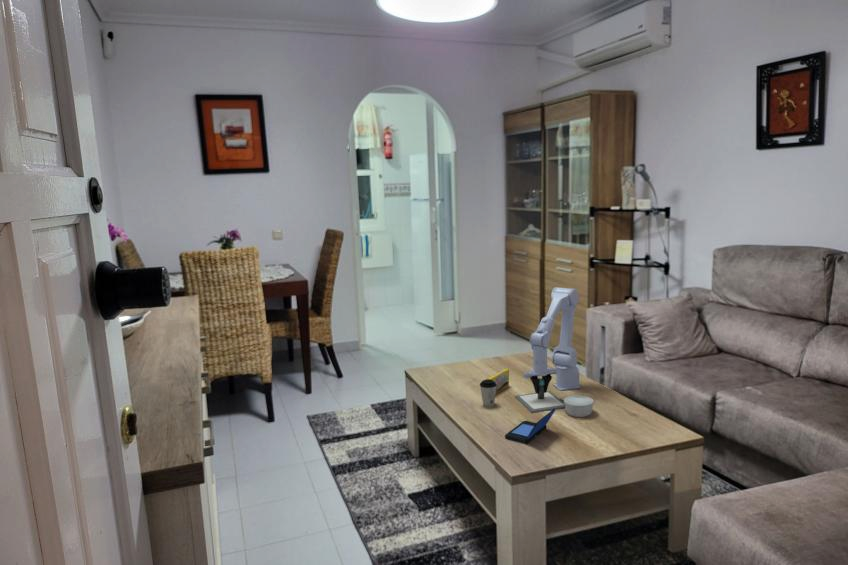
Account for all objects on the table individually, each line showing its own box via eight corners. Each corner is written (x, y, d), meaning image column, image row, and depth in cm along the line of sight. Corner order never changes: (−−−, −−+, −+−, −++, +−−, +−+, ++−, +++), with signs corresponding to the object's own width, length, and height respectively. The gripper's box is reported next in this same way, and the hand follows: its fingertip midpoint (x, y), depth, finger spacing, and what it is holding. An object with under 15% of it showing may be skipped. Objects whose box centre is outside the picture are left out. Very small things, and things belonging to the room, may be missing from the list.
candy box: (491, 398, 245) (490, 379, 243) (486, 397, 246) (486, 378, 244) (509, 386, 257) (509, 368, 256) (505, 385, 259) (504, 367, 257)
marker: (542, 396, 241) (542, 378, 239) (545, 398, 238) (545, 380, 236) (536, 397, 240) (535, 378, 239) (539, 399, 237) (538, 381, 236)
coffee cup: (496, 408, 233) (495, 384, 231) (479, 407, 234) (478, 384, 233) (497, 401, 240) (497, 378, 238) (481, 401, 241) (480, 378, 240)
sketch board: (549, 392, 247) (549, 390, 247) (569, 407, 230) (569, 405, 230) (514, 397, 244) (514, 395, 244) (531, 412, 226) (531, 410, 226)
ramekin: (593, 408, 228) (593, 395, 227) (593, 419, 217) (593, 406, 216) (564, 406, 231) (564, 394, 230) (563, 417, 220) (563, 404, 220)
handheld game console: (524, 423, 217) (523, 400, 216) (557, 431, 209) (556, 407, 208) (503, 439, 205) (502, 414, 204) (537, 448, 197) (537, 422, 195)
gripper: (527, 365, 231) (528, 398, 233) (560, 361, 234) (561, 393, 236) (520, 360, 238) (521, 392, 240) (553, 356, 241) (553, 387, 243)
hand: (540, 392), depth 238 cm, fingers closed on marker, 3 cm apart
